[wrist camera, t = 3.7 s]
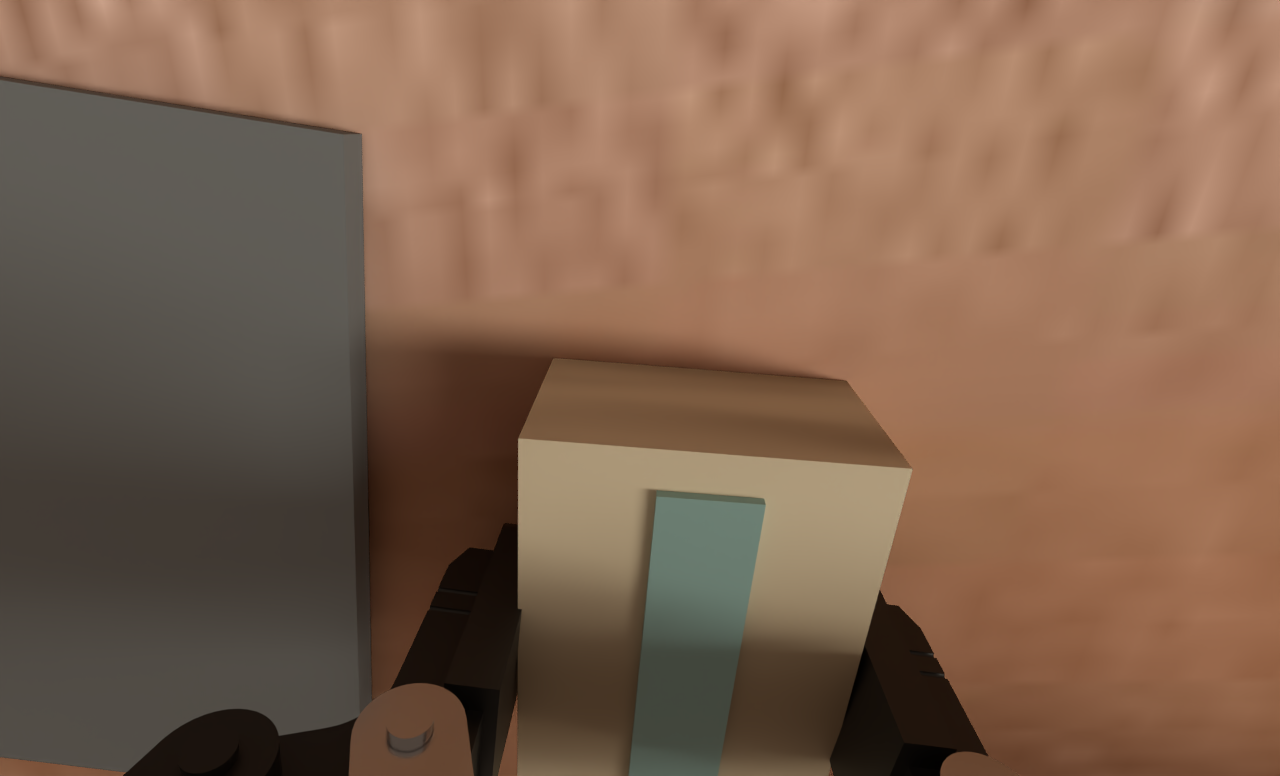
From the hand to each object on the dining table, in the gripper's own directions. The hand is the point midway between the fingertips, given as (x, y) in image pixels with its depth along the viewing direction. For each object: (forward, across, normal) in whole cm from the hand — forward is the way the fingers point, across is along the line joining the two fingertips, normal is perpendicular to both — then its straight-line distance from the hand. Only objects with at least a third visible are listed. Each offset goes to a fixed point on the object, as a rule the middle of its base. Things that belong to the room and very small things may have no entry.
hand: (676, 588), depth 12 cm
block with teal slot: (+1, 0, 0) cm, 1 cm away
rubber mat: (+1, +13, 0) cm, 13 cm away
